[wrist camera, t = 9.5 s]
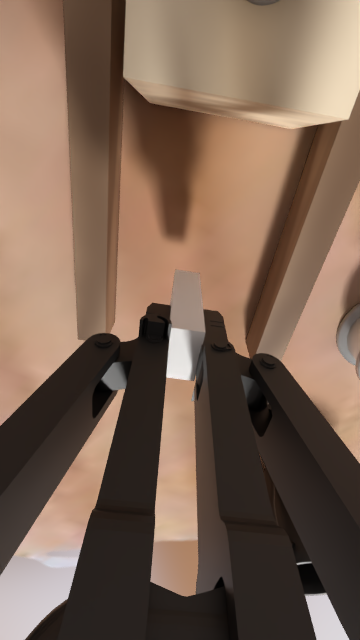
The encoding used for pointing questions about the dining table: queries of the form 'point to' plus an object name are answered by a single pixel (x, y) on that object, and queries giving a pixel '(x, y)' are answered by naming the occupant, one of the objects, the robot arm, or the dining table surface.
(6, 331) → the dining table surface
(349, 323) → the gray yo-yo
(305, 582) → the mug
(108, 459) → the robot arm
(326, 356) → the dining table surface
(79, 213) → the channel
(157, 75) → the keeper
